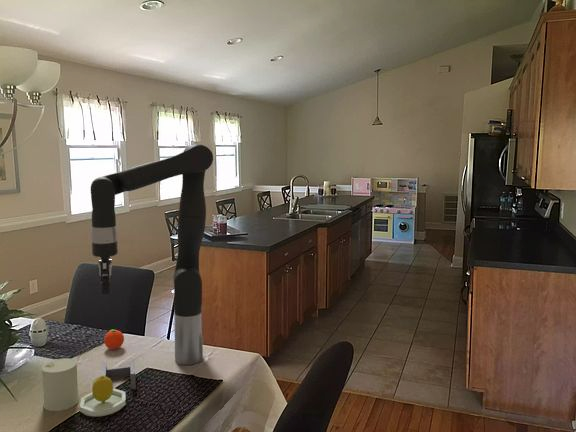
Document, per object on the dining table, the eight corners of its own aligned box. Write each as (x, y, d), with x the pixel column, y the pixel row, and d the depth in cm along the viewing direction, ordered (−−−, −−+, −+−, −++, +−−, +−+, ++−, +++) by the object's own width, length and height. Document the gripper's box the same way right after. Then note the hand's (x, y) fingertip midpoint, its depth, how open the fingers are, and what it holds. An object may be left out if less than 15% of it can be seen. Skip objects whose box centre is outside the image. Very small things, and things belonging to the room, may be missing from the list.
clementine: (100, 347, 174) (99, 328, 173) (118, 342, 179) (118, 324, 178) (108, 354, 168) (108, 335, 168) (127, 349, 173) (126, 330, 172)
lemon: (107, 408, 132) (106, 381, 130) (89, 406, 132) (87, 380, 131) (117, 397, 137) (115, 372, 136) (99, 396, 138) (98, 370, 137)
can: (51, 395, 140) (49, 356, 138) (83, 394, 140) (81, 356, 139) (37, 412, 131) (35, 371, 129) (72, 411, 131) (70, 370, 130)
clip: (135, 373, 154) (134, 359, 153) (135, 388, 144) (135, 373, 144) (102, 377, 151) (101, 363, 150) (100, 393, 141) (100, 378, 140)
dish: (125, 391, 142) (125, 386, 142) (125, 412, 131) (125, 406, 131) (82, 397, 138) (82, 392, 138) (78, 419, 127) (78, 413, 127)
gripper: (116, 243, 143) (118, 295, 145) (117, 236, 157) (119, 283, 159) (90, 245, 141) (92, 297, 143) (93, 237, 154) (95, 284, 156)
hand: (106, 289), depth 151 cm, fingers open, 8 cm apart
